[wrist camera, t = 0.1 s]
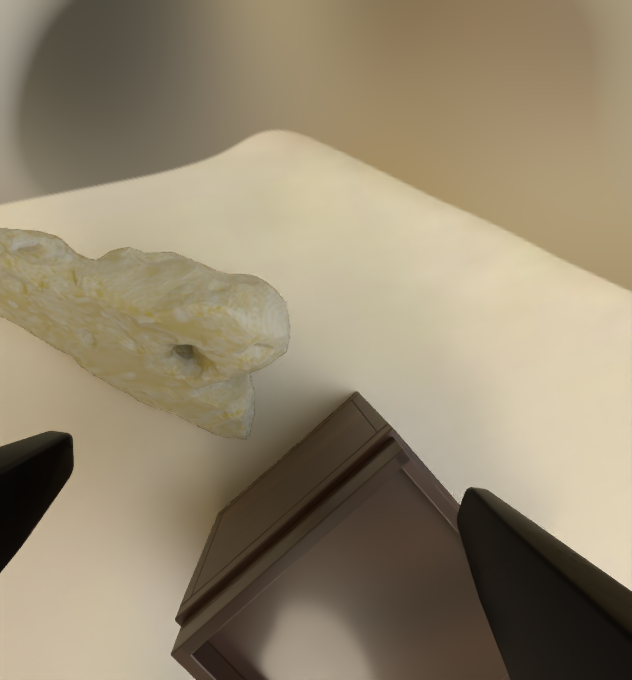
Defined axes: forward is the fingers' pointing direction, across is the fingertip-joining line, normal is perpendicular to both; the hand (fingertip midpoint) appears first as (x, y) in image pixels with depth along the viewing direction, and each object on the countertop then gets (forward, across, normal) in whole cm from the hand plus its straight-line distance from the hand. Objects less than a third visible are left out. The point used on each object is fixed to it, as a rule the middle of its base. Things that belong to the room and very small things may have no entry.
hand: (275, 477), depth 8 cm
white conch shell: (+16, +9, +2) cm, 18 cm away
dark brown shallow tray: (+4, -6, +11) cm, 14 cm away
